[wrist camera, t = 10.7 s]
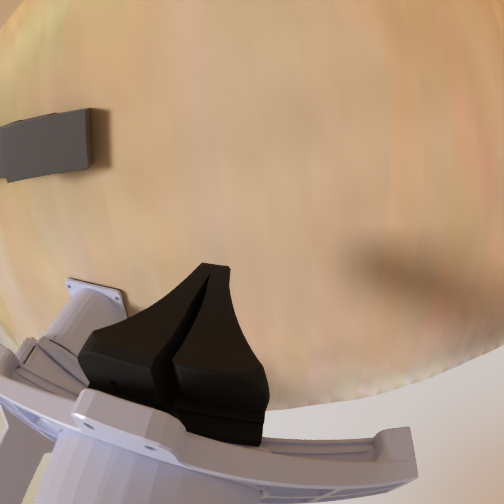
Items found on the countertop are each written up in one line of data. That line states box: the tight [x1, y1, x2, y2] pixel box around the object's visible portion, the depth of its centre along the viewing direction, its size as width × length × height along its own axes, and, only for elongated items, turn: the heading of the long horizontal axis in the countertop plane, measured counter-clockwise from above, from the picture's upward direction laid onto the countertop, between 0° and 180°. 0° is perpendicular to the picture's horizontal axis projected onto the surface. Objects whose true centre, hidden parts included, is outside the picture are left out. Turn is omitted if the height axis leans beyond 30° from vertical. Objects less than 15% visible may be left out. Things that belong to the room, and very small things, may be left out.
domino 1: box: [1, 108, 93, 183], centre depth 17 cm, size 5×2×8 cm
